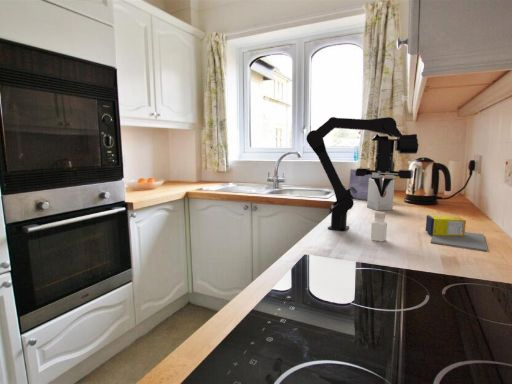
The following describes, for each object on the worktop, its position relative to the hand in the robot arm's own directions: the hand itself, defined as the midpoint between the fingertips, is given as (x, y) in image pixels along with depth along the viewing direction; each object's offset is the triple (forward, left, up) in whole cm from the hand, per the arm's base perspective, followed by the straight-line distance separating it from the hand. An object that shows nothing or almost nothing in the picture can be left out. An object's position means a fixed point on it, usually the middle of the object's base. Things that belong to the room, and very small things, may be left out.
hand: (382, 196), depth 114 cm
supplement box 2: (+44, +9, -13) cm, 47 cm away
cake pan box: (+68, +22, -13) cm, 73 cm away
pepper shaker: (-12, -2, -13) cm, 18 cm away
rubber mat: (+4, -24, -13) cm, 28 cm away
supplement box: (+5, -15, -10) cm, 19 cm away
